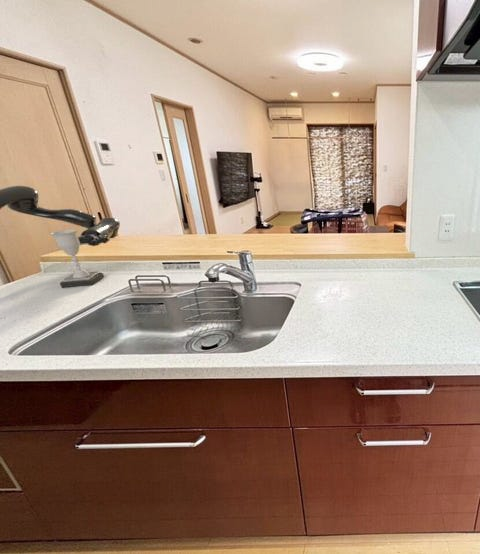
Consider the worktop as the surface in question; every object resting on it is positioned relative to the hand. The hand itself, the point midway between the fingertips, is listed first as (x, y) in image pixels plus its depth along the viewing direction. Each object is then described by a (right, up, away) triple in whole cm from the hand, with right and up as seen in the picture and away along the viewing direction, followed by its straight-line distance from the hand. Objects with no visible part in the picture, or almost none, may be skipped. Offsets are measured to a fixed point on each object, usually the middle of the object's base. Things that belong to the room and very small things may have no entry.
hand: (79, 244), depth 121 cm
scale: (+3, -16, -1) cm, 16 cm away
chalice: (+3, -13, -2) cm, 13 cm away
